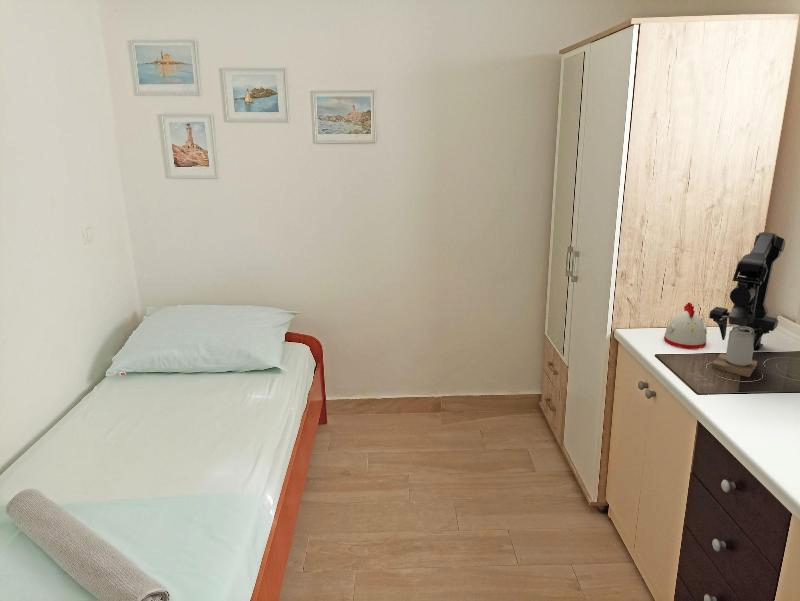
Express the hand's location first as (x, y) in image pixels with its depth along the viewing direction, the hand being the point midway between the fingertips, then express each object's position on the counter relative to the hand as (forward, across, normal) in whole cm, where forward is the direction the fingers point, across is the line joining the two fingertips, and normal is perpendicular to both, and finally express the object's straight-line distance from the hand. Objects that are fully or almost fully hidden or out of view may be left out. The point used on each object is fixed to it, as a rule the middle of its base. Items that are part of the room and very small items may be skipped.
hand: (738, 343), depth 196 cm
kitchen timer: (+9, -20, +12) cm, 25 cm away
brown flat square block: (+9, 0, 0) cm, 9 cm away
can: (+7, +1, 0) cm, 7 cm away
